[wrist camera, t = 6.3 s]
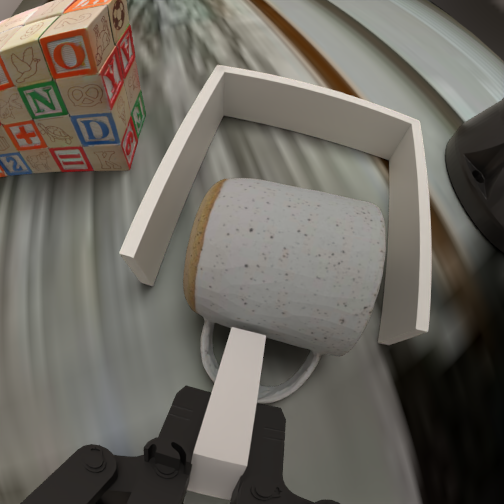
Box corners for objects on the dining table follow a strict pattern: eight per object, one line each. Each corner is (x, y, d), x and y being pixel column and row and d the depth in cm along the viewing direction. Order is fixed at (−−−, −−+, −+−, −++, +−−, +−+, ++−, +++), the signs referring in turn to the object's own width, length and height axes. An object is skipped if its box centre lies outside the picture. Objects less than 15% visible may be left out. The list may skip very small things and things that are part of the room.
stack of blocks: (-49, 185, 20) (-111, 108, 9) (-25, 137, 23) (-73, 58, 12) (132, 171, 22) (86, 24, 11) (149, 114, 24) (126, -17, 13)
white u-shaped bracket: (388, 345, 18) (428, 331, 14) (141, 282, 19) (119, 253, 14) (397, 156, 24) (419, 120, 20) (217, 107, 25) (217, 64, 21)
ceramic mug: (220, 215, 21) (218, 133, 14) (343, 244, 21) (394, 177, 13) (174, 381, 17) (136, 382, 10) (316, 411, 16) (373, 428, 9)
